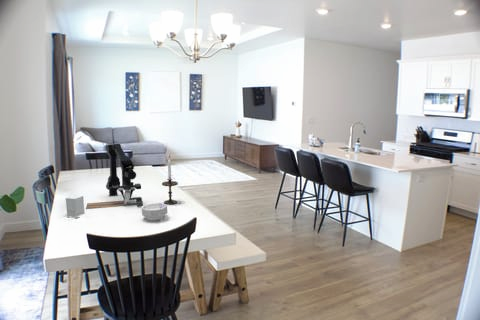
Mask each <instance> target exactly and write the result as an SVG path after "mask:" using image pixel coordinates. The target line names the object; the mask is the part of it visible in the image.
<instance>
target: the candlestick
mask: <svg viewBox="0 0 480 320" xmlns="http://www.w3.org/2000/svg"><path fill="white" fill-rule="evenodd" d="M170 157H171V154H169V156H168V160H167V169H168V171H167V173H168V176H167V177H168V178H167V179H166V180H167V181H163V182H162V183H161V185H162V186H164V187H168V191H167V193H168V197H169V198H168V199H167V200H165V201H163V204H166V205H167V206H168V205H169V206H170V205H176V204H178V201H177V200H176V199H172V197H173V195H172V194H173V192H172V187H175V186H177V185H179V182H178V181H175V180H174V181H173V178H172V166H171V165H172V161H171V158H170Z"/></svg>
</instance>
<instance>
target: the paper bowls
mask: <svg viewBox="0 0 480 320" xmlns="http://www.w3.org/2000/svg"><path fill="white" fill-rule="evenodd" d="M167 214H168V205H166V204H164V202H153V203H147V204H143V207H141V215H142V216H143V217H144V218H145V220H147V221H152V222H157V221H160V220H162V219H164V217H165V216H166V215H167Z"/></svg>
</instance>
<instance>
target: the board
mask: <svg viewBox="0 0 480 320" xmlns="http://www.w3.org/2000/svg"><path fill="white" fill-rule="evenodd" d="M115 207H127V204H124V199H123V200H112V201H111V200H110V201H102V202H98V201H97V202H90V203H89V202H88V203H86V207H85V210H93V209H106V208H115Z"/></svg>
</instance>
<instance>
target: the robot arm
mask: <svg viewBox="0 0 480 320" xmlns="http://www.w3.org/2000/svg"><path fill="white" fill-rule="evenodd" d="M105 150H106V153H107V155H108V156H109V176H108V178H107V182H106V184H105V188H106V190H108V193H109V194H108V197H117V196H119V194H118V192H120V193H121V196H122V199H123V200H124V194H125V192H124V191H125V190H130V199H131V198H132V195H133V192H134V191H136V190H141V189H142V184H141V183H134V182H133V181H132V180H135V179H136V177H137V172H135V171H134V169H135V165H134V162H133V160H132V159H131V158H130V157H129V156H127V155H126V153H125V152H124V150H123V147H122V145H121V143H112V144H107V145H106V146H105ZM117 157H118V159H119V163H118V164H119V166H120V169H121V181H120V178H119V176H118V174H117V173H118V171H117V170H118V169H117V167H118V166H117Z"/></svg>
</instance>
